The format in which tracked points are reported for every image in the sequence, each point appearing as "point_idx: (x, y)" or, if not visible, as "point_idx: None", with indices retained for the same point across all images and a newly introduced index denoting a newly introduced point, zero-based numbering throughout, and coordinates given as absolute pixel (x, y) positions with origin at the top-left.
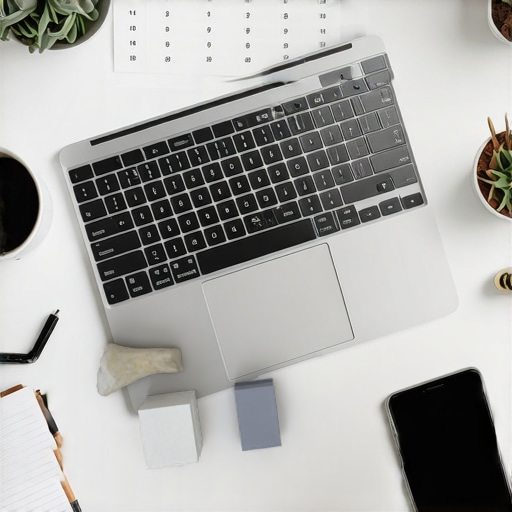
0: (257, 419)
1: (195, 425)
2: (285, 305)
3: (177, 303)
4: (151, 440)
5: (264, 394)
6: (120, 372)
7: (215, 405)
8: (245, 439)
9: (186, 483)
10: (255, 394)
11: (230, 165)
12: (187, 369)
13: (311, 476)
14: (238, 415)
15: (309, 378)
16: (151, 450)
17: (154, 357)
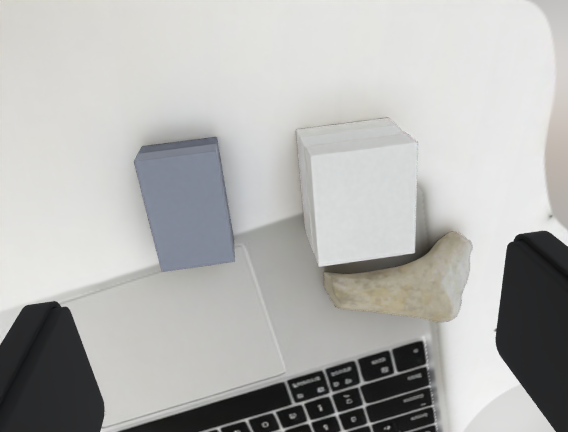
0: (188, 213)
1: (309, 207)
2: (154, 353)
3: (323, 347)
4: (399, 200)
5: (177, 256)
6: (430, 296)
7: (269, 202)
8: (210, 175)
9: (334, 47)
10: (194, 257)
11: None
12: (315, 259)
13: (60, 57)
14: (225, 219)
15: (97, 250)
16: (402, 181)
17: (369, 307)
